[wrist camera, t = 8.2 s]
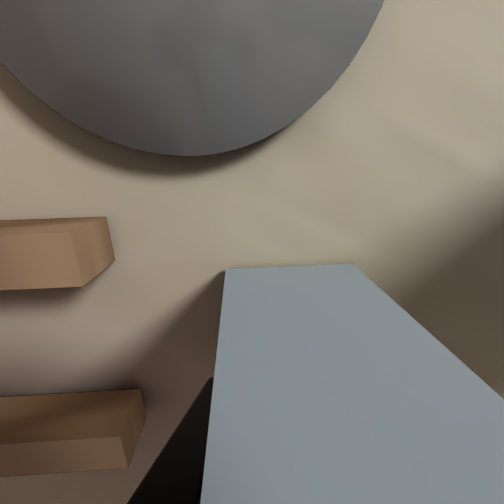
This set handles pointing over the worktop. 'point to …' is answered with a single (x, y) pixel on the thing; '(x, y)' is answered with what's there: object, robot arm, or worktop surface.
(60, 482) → the worktop surface
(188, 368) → the worktop surface
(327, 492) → the slate block
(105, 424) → the walnut bay
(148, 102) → the charcoal trivet
